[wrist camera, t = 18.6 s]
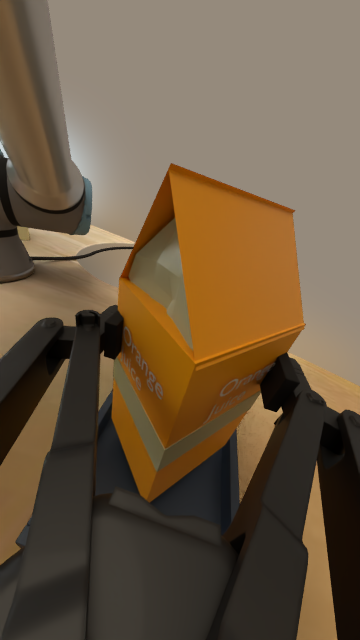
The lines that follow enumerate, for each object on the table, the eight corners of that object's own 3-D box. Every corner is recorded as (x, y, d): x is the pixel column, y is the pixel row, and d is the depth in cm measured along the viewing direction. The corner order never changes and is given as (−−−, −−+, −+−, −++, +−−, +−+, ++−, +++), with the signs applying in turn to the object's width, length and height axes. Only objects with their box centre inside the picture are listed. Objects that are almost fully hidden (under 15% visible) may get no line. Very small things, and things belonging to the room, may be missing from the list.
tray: (133, 368, 29) (135, 352, 28) (226, 399, 29) (234, 384, 27) (25, 553, 14) (14, 542, 12) (226, 635, 13) (246, 637, 11)
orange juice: (226, 446, 19) (376, 226, 9) (144, 509, 14) (269, 164, 4) (182, 385, 24) (244, 201, 14) (109, 416, 19) (122, 160, 9)
